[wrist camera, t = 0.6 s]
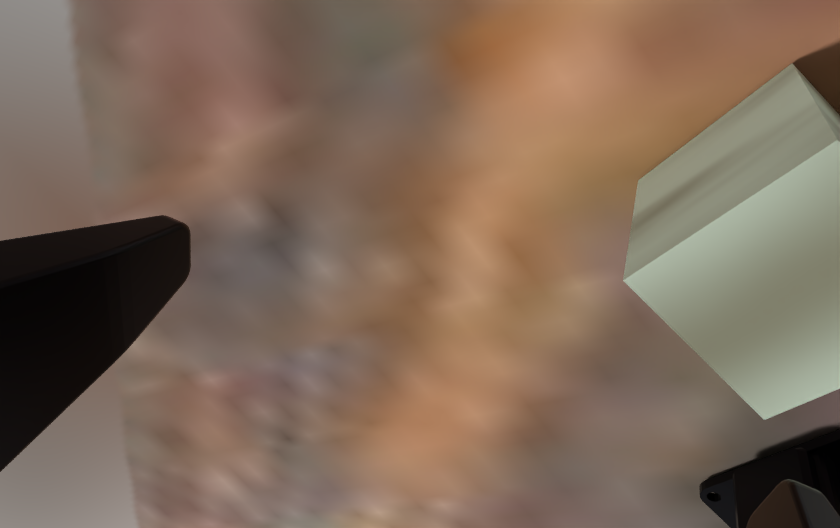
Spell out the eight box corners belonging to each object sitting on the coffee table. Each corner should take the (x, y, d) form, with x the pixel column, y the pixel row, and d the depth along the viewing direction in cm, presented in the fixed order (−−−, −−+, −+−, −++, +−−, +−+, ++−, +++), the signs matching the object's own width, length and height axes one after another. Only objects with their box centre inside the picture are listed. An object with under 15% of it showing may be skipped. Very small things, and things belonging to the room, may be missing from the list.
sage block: (912, 194, 17) (1002, 320, 12) (744, 289, 20) (764, 420, 15) (792, 62, 16) (837, 140, 11) (638, 180, 19) (623, 280, 14)
